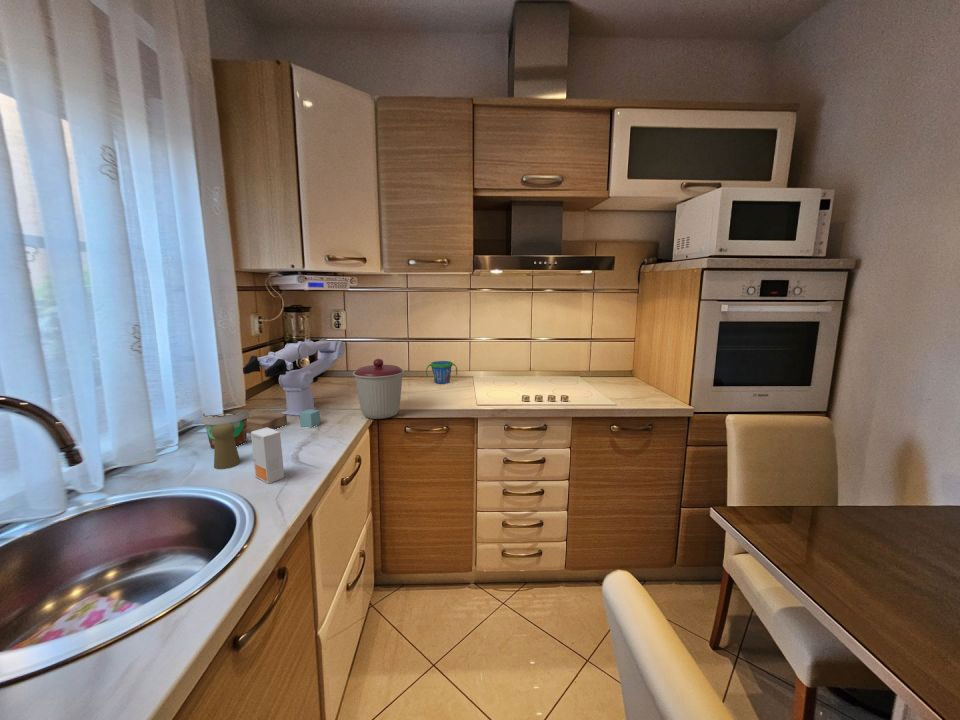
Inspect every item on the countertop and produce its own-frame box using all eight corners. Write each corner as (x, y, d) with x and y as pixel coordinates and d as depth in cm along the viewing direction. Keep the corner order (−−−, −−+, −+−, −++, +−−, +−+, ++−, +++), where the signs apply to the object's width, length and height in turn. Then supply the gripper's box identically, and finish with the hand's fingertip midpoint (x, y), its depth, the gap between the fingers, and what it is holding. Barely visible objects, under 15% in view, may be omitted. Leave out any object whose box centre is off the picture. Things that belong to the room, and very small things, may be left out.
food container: (197, 453, 112) (192, 419, 110) (205, 445, 118) (201, 413, 116) (245, 448, 115) (242, 415, 114) (251, 441, 121) (248, 409, 120)
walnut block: (264, 423, 139) (263, 412, 138) (287, 426, 136) (286, 414, 135) (239, 432, 129) (238, 421, 129) (263, 436, 126) (262, 424, 126)
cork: (211, 464, 105) (206, 424, 103) (237, 457, 109) (232, 419, 107) (216, 471, 101) (211, 430, 99) (243, 464, 105) (238, 424, 103)
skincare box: (254, 478, 97) (249, 431, 95) (271, 471, 101) (267, 426, 99) (268, 484, 94) (263, 436, 92) (285, 477, 98) (280, 431, 95)
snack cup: (425, 385, 192) (424, 364, 191) (427, 380, 203) (427, 360, 201) (457, 385, 193) (457, 364, 191) (458, 380, 203) (457, 360, 201)
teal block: (309, 422, 138) (308, 409, 137) (320, 424, 137) (319, 410, 136) (300, 427, 134) (299, 412, 133) (311, 428, 133) (310, 414, 132)
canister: (347, 422, 138) (343, 363, 135) (365, 407, 156) (362, 354, 152) (398, 423, 137) (395, 363, 133) (410, 408, 155) (409, 355, 151)
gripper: (261, 345, 139) (232, 358, 126) (299, 350, 137) (274, 363, 125) (263, 364, 142) (235, 378, 129) (301, 369, 140) (276, 384, 127)
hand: (254, 372), depth 127 cm, fingers open, 7 cm apart
